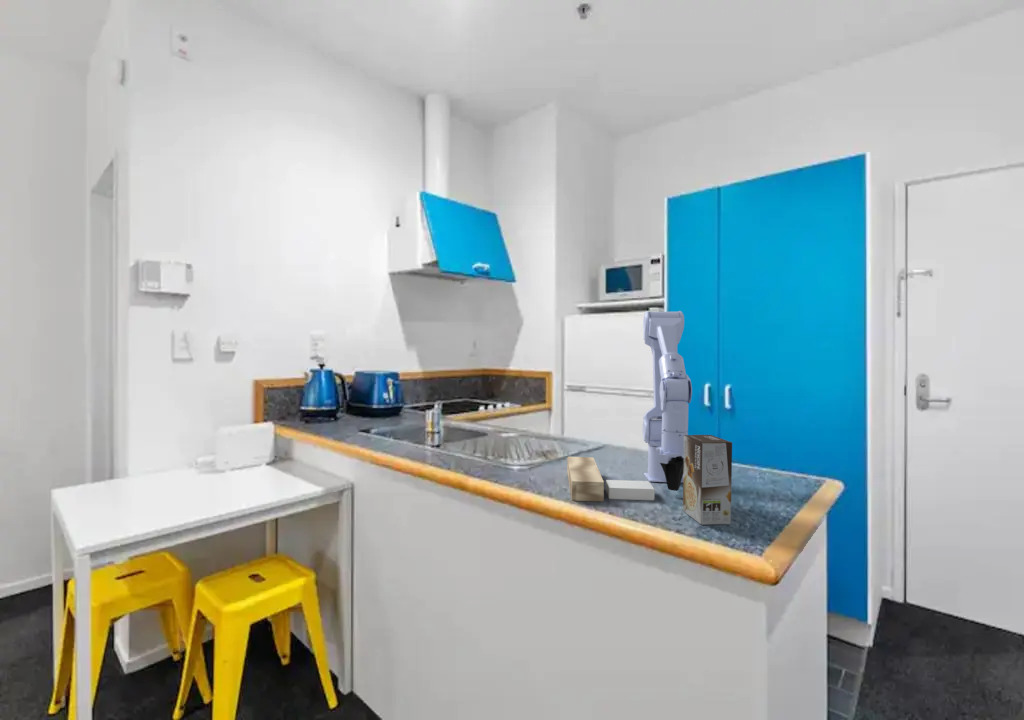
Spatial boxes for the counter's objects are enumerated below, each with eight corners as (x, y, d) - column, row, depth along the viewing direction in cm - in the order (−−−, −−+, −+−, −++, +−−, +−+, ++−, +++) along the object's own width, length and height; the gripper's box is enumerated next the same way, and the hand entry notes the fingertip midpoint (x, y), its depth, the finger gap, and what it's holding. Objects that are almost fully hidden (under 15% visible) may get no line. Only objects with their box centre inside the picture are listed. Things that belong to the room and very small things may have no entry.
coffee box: (732, 524, 98) (734, 442, 98) (700, 525, 97) (702, 442, 97) (710, 509, 107) (711, 434, 107) (680, 510, 106) (682, 434, 106)
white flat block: (648, 491, 120) (648, 481, 120) (654, 500, 113) (654, 489, 113) (605, 490, 121) (605, 479, 121) (609, 498, 114) (609, 487, 114)
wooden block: (593, 473, 137) (593, 457, 137) (603, 501, 112) (603, 482, 112) (567, 472, 138) (567, 456, 138) (571, 500, 112) (572, 481, 112)
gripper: (669, 425, 124) (667, 480, 124) (645, 432, 113) (644, 493, 113) (698, 428, 120) (697, 485, 120) (676, 436, 108) (675, 499, 109)
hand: (673, 489), depth 116 cm, fingers closed
